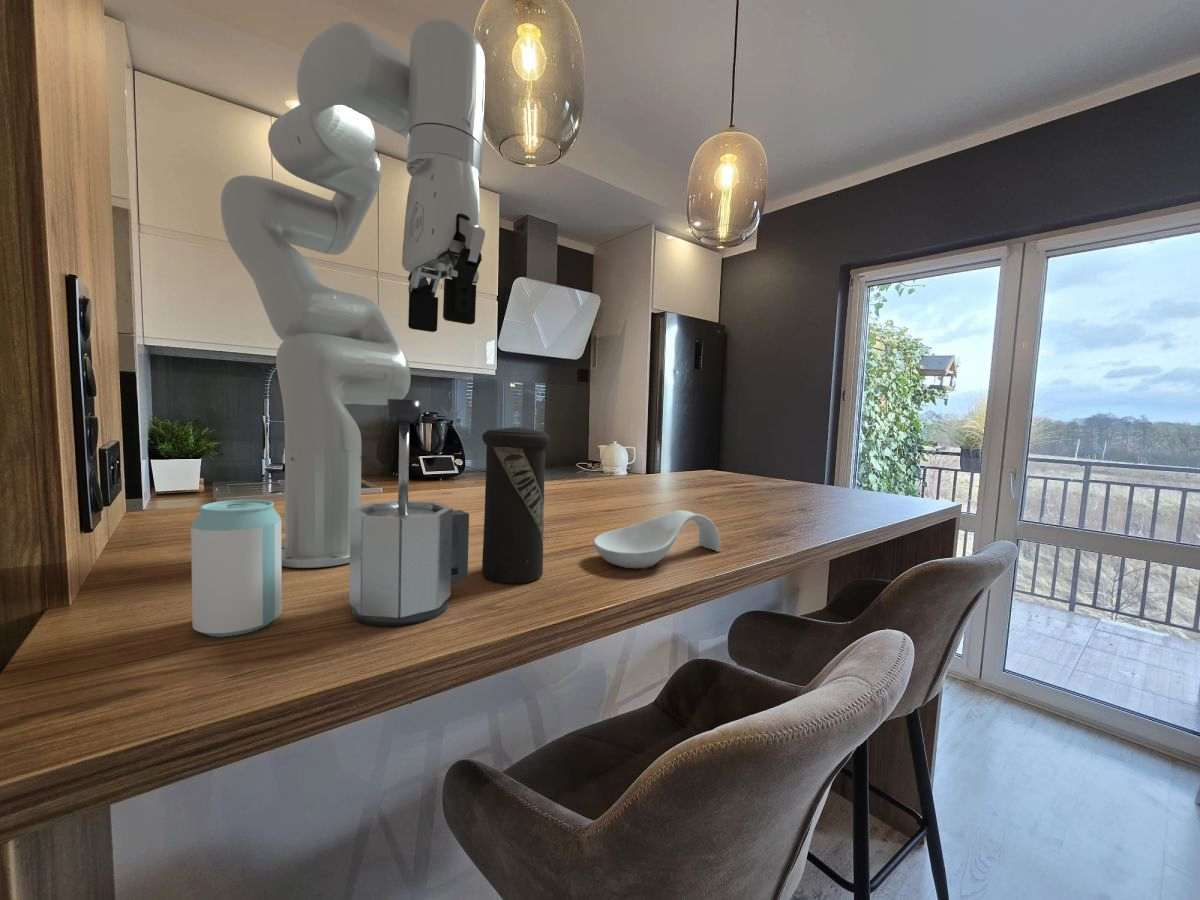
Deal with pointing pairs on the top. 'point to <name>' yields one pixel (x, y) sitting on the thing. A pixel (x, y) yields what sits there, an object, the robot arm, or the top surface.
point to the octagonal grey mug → (405, 562)
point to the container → (514, 505)
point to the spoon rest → (652, 539)
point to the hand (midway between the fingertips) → (439, 326)
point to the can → (235, 567)
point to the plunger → (403, 453)
